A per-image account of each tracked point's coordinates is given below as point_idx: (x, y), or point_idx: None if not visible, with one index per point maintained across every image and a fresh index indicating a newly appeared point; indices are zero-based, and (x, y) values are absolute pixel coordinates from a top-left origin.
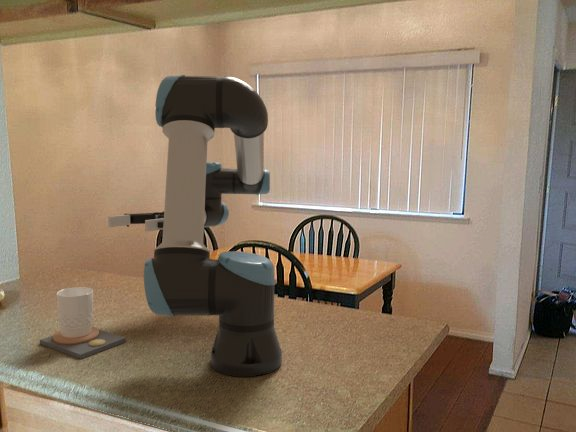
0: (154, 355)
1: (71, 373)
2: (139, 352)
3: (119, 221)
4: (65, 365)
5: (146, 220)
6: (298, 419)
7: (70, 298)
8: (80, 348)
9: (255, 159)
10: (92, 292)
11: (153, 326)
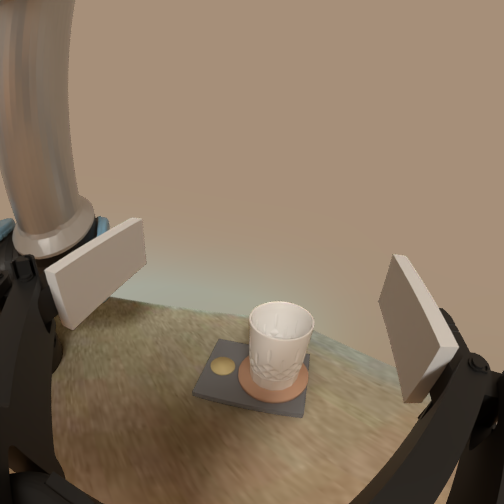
0: (130, 365)
1: (205, 319)
2: (154, 370)
3: (398, 315)
4: (224, 329)
5: (135, 218)
6: None
7: (265, 305)
8: (233, 350)
9: None
10: (252, 328)
11: (182, 466)
